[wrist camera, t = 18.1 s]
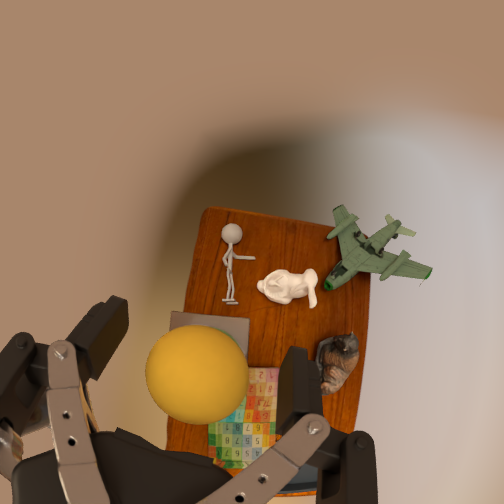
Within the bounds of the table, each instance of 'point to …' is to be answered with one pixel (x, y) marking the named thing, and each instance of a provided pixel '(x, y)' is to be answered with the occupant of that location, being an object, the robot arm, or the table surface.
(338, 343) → the cat statue
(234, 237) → the figurine
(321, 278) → the table surface
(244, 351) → the plinth
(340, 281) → the airplane
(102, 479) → the robot arm
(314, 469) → the basket
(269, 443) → the puzzle game
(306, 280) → the rabbit figurine
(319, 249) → the table surface
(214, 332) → the corn toy
